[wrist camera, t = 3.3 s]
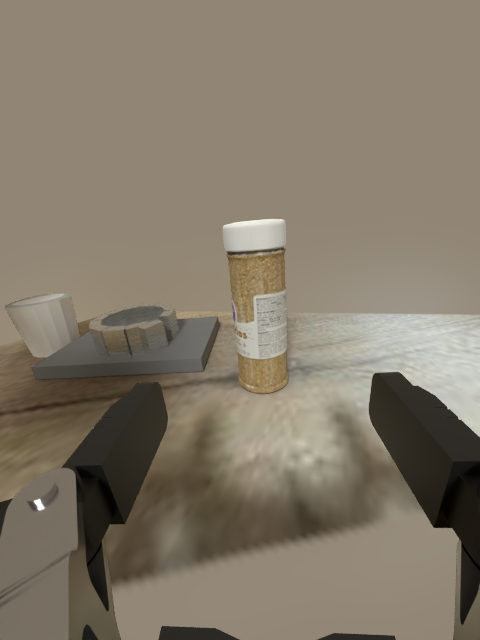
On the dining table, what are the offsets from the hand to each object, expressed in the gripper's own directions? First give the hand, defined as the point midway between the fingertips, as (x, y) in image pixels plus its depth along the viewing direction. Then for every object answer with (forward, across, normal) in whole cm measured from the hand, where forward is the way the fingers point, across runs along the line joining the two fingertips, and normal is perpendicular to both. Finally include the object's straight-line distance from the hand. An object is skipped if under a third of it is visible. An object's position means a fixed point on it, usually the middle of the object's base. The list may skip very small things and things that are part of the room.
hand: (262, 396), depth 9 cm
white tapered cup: (+21, +28, +7) cm, 36 cm away
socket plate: (+19, +15, +7) cm, 25 cm away
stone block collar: (+19, +15, +6) cm, 25 cm away
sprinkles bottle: (+11, 0, +7) cm, 13 cm away
